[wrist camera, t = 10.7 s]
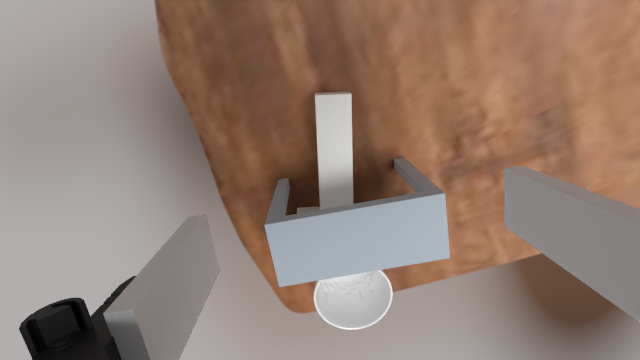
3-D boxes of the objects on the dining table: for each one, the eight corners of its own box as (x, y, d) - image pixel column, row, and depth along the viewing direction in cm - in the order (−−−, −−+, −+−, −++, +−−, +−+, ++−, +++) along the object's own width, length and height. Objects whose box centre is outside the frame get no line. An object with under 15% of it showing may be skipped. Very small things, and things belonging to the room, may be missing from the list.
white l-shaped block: (289, 93, 39) (286, 96, 33) (370, 90, 39) (379, 92, 34) (298, 226, 43) (296, 247, 38) (370, 222, 43) (379, 242, 38)
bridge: (278, 179, 41) (264, 224, 29) (403, 157, 41) (444, 193, 28) (288, 225, 43) (279, 287, 30) (408, 204, 43) (449, 258, 30)
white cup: (300, 247, 44) (297, 294, 34) (348, 208, 43) (359, 246, 33) (340, 287, 46) (347, 343, 36) (387, 251, 45) (408, 299, 35)
